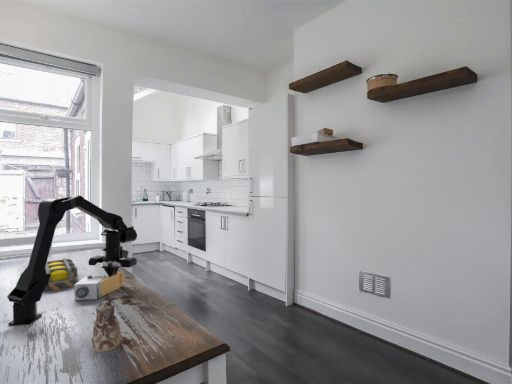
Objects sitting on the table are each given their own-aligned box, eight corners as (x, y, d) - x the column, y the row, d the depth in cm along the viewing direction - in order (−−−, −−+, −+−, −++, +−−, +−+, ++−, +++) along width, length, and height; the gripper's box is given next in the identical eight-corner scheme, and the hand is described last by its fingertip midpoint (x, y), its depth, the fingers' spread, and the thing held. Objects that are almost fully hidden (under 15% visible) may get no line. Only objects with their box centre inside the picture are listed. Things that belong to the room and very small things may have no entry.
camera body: (94, 300, 112) (94, 282, 112) (72, 301, 111) (71, 283, 111) (107, 289, 124) (107, 273, 124) (87, 290, 123) (86, 274, 123)
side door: (100, 298, 114) (99, 282, 113) (97, 298, 114) (97, 282, 114) (124, 285, 129) (123, 271, 128) (121, 285, 129) (121, 271, 129)
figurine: (85, 350, 78) (84, 305, 78) (103, 336, 85) (102, 295, 85) (109, 352, 77) (108, 306, 76) (126, 338, 84) (125, 296, 83)
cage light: (71, 255, 153) (79, 268, 129) (71, 271, 153) (80, 286, 129) (36, 260, 144) (37, 274, 120) (36, 276, 144) (38, 294, 120)
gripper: (143, 242, 132) (143, 277, 133) (104, 240, 135) (104, 274, 135) (129, 247, 121) (129, 285, 122) (87, 245, 124) (87, 282, 124)
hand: (112, 281), depth 126 cm, fingers closed
